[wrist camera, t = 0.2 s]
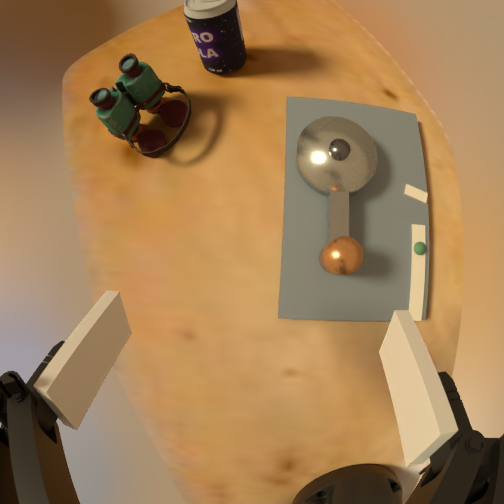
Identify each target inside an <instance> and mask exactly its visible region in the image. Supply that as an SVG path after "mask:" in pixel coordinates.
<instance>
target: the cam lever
mask: <svg viewBox="0 0 504 504" xmlns="http://www.w3.org/2000/svg"><path fill="white" fill-rule="evenodd" d="M377 164H378V154H377V149H376V146H375V144H374V142H373V140H372V138H371V137H370V135H369V134H368V133H367V132H366V131H365V130H364V129H363V128H362V127H361V126H360V125H358V124H357V123H355V122H353V121H351V120H349V119H346V118H342V117H337V116H328V117H322V118H319V119H316V120H314V121H312V122H311V123H309V124H308V125H307V126H306V127H305V128H304V129H303V131H302V132H301V134H300V136H299V139H298V143H297V151H296V165H297V169H298V172H299V174H300V176H301V177H302V179H303V180H304V182H305V183H306V184H307V185H308V186H309V187H310V188H312V189H313V190H314V191H316V192H318V193H320V194H322V195H325V196H327V237H326V245H325V246H324V247H323V248H322V249H321V251H320V254H319V262H320V265H321V267H322V268H323V269H324V270H325V271H326V272H328V273H330V274H351V273H353V272H355V271H356V270H357V269H358V268H359V267H360V266H361V264H362V261H363V250H362V247H361V245H360V244H359V242H358V241H356V240H355V239H354V238H351V237H349V196H351V195H353V194H355V193H357V192H358V191H360V190H361V189H362V188H363V187H364V186H365V185H366V184H367V183H368V182H369V180H370V179H371V178H372V177H373V175H374V173H375V171H376V168H377Z"/></svg>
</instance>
